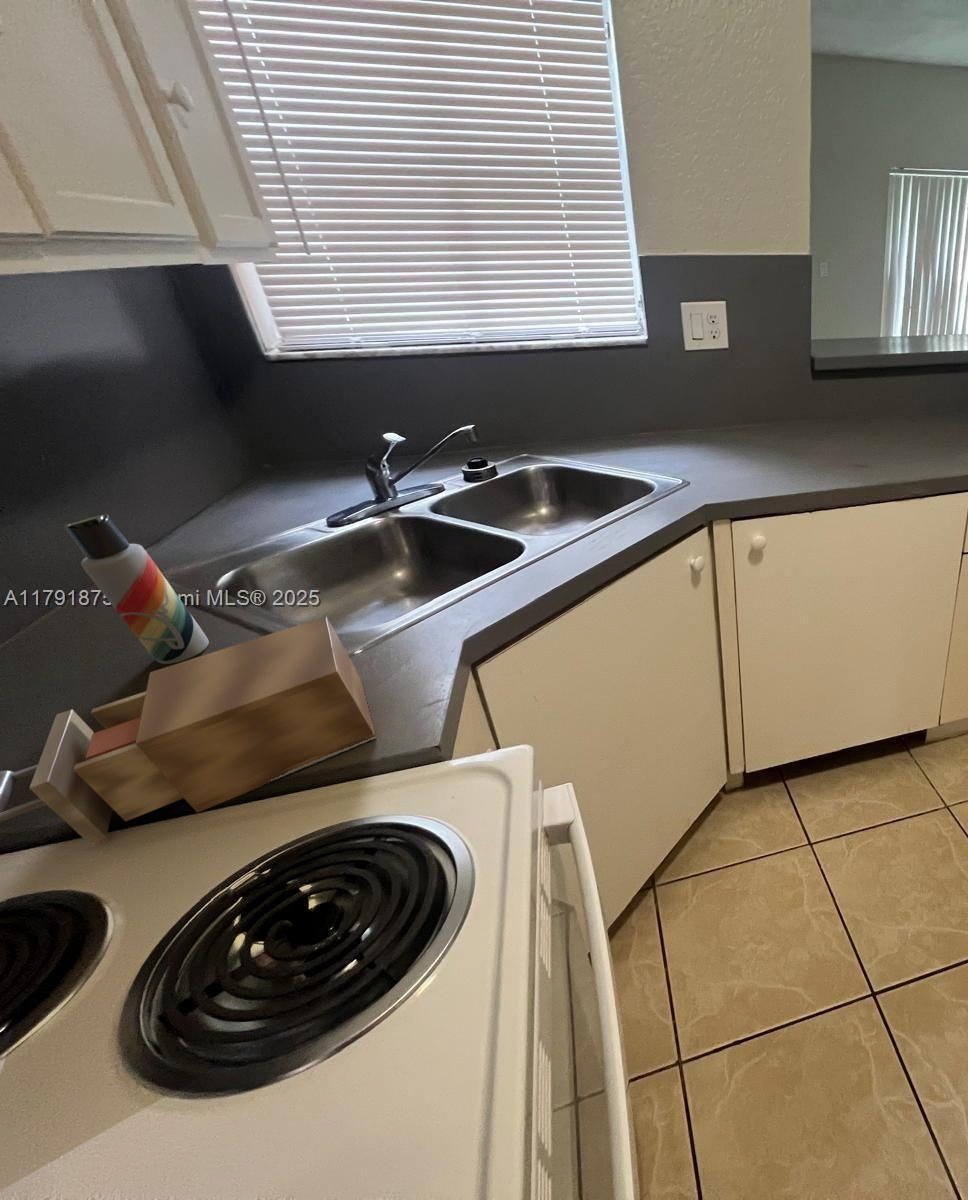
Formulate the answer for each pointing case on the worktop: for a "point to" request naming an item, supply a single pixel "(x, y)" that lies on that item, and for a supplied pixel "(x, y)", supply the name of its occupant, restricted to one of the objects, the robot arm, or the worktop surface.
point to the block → (113, 738)
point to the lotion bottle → (137, 591)
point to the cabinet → (252, 712)
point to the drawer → (91, 775)
